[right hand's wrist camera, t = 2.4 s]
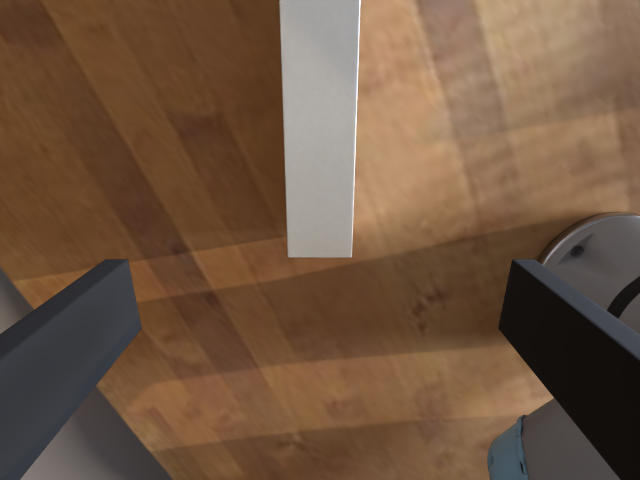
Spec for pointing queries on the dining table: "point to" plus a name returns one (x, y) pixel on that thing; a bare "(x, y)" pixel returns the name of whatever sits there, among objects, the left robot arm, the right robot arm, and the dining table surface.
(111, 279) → the right robot arm
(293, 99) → the beam
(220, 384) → the dining table surface
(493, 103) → the dining table surface
